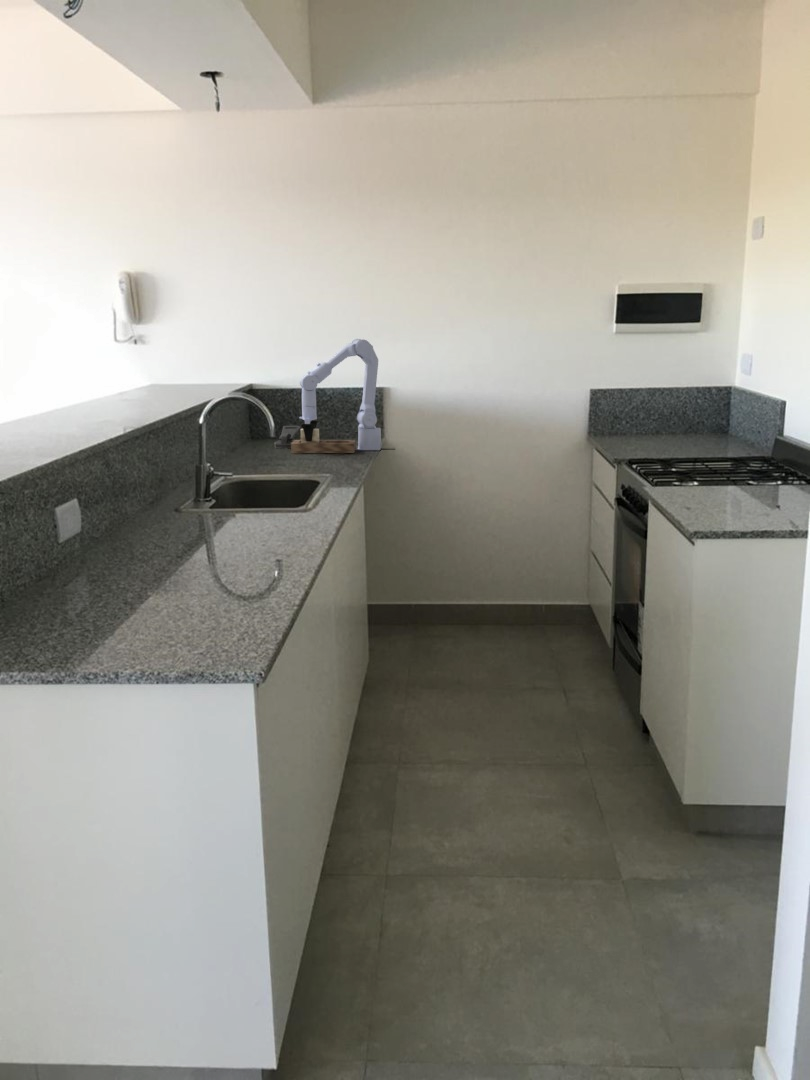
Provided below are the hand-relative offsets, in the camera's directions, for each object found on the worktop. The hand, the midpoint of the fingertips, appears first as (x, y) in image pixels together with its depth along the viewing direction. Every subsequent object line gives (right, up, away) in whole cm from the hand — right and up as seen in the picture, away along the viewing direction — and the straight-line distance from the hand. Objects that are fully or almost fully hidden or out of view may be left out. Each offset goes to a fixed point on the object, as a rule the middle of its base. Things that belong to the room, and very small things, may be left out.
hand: (309, 439), depth 365 cm
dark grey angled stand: (-11, 0, +21) cm, 24 cm away
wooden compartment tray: (+6, -5, +1) cm, 7 cm away
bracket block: (0, -4, +1) cm, 4 cm away
